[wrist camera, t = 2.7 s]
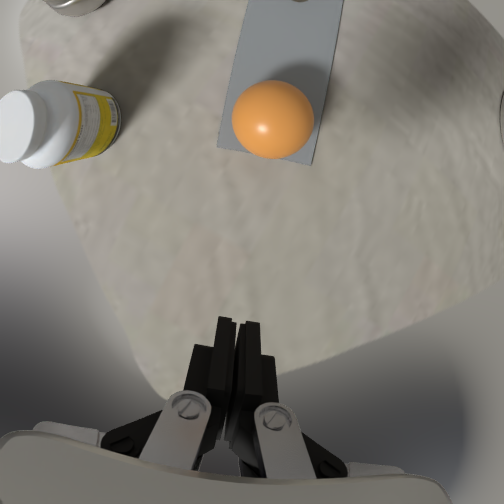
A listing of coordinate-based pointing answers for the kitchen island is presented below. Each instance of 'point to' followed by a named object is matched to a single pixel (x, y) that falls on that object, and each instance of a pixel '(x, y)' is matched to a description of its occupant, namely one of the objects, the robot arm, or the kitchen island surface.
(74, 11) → the plastic bottle
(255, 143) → the ball
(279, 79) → the plate
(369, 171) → the kitchen island surface
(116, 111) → the pill bottle
